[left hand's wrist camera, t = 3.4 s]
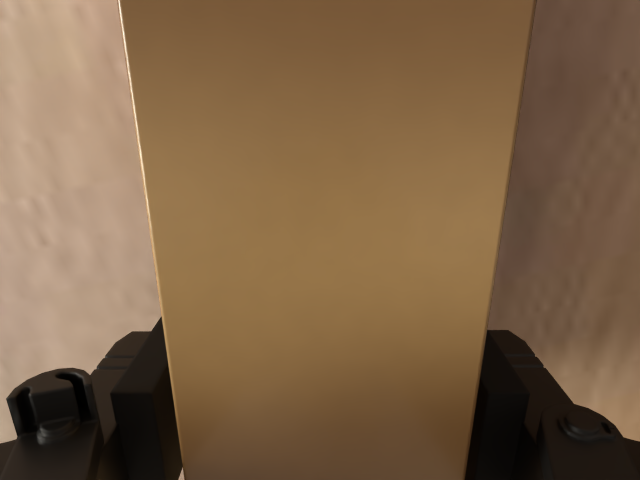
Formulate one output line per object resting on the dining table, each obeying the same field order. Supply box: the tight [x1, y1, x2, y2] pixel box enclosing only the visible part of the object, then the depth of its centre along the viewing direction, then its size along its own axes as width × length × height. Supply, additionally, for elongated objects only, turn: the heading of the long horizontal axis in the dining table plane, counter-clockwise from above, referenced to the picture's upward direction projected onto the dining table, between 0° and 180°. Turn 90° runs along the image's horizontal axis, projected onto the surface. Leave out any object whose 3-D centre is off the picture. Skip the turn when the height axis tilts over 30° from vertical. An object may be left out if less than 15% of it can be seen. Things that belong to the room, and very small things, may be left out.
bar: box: [117, 0, 537, 480], centre depth 9 cm, size 22×4×8 cm, turn 0°
